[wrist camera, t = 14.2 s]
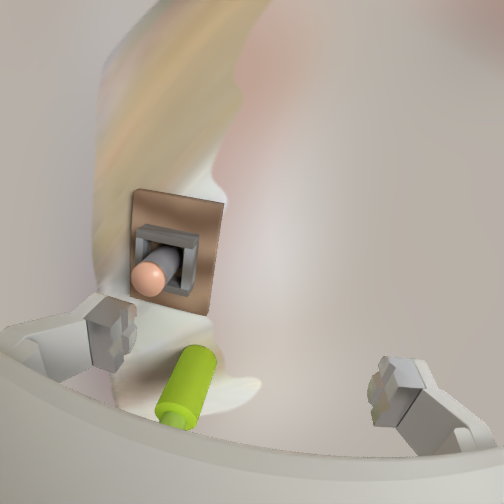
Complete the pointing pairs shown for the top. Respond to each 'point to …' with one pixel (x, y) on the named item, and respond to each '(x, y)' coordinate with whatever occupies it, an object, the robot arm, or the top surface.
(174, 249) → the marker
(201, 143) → the top surface
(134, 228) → the wooden socket board
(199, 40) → the top surface
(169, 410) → the soap dispenser
